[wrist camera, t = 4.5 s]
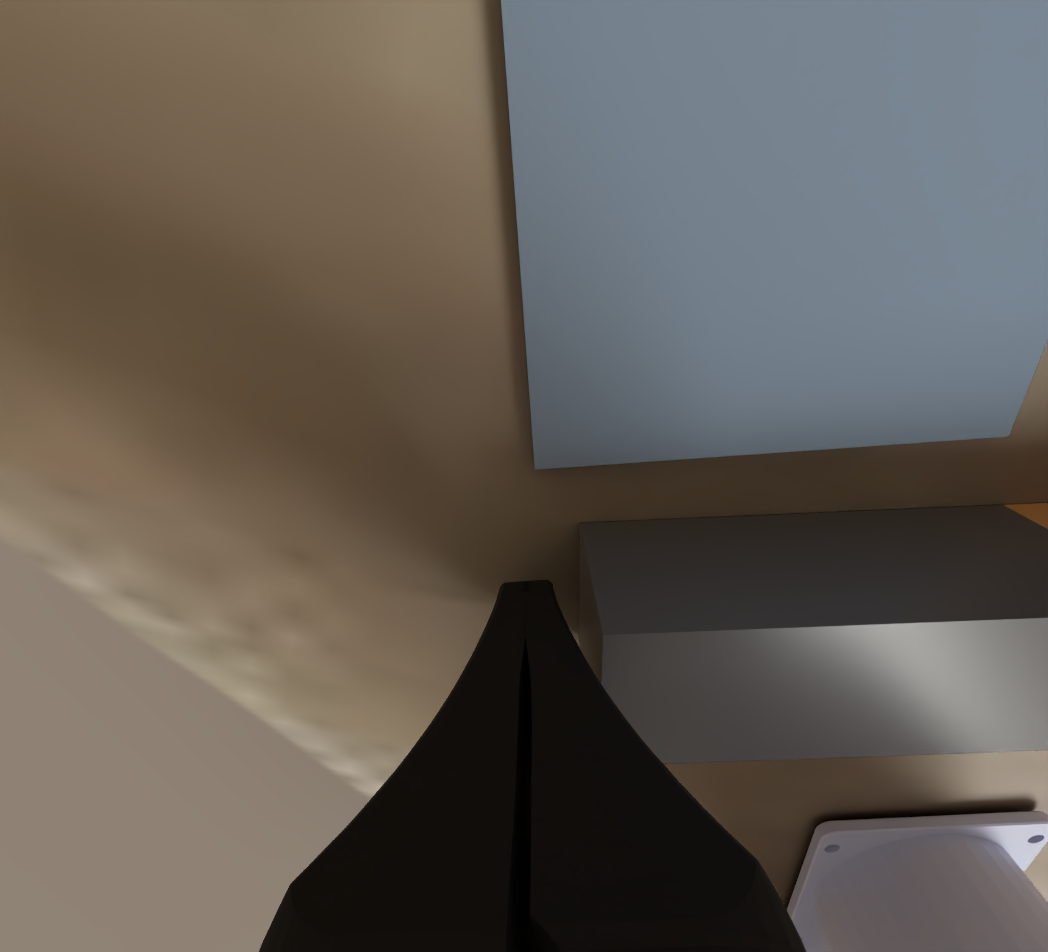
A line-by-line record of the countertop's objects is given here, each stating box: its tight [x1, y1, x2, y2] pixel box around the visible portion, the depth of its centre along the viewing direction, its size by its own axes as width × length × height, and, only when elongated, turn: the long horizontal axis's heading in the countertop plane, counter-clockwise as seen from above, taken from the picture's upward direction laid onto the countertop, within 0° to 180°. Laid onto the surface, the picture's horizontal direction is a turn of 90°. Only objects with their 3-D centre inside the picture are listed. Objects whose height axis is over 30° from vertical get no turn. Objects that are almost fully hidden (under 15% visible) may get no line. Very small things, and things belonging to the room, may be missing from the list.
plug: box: [579, 503, 1048, 764], centre depth 10 cm, size 4×15×4 cm, turn 93°
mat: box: [501, 0, 1048, 470], centre depth 8 cm, size 8×10×1 cm
